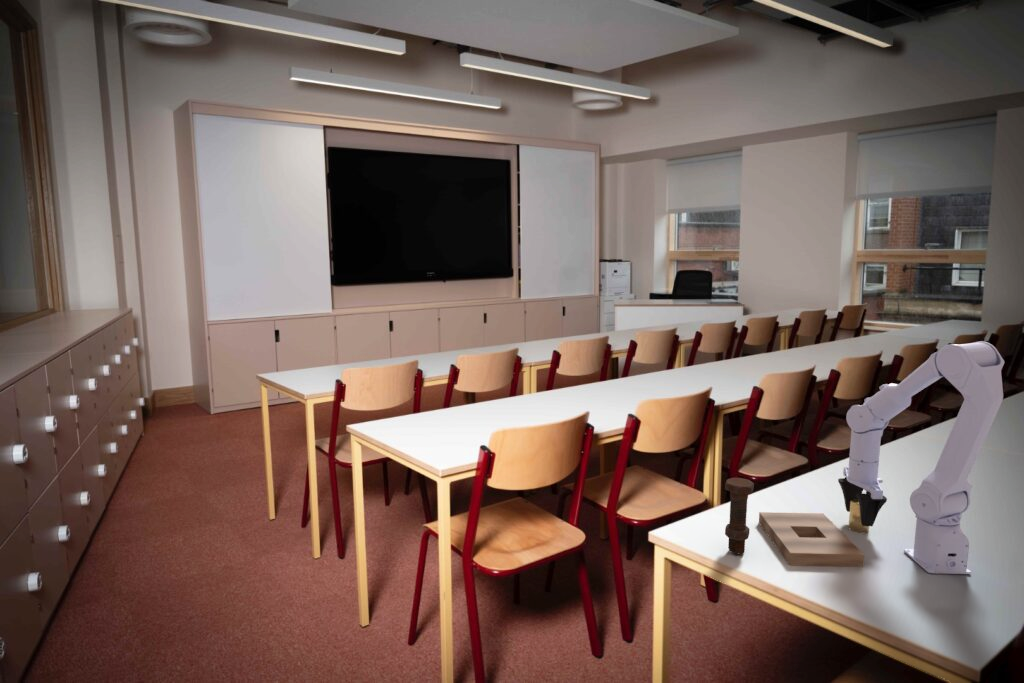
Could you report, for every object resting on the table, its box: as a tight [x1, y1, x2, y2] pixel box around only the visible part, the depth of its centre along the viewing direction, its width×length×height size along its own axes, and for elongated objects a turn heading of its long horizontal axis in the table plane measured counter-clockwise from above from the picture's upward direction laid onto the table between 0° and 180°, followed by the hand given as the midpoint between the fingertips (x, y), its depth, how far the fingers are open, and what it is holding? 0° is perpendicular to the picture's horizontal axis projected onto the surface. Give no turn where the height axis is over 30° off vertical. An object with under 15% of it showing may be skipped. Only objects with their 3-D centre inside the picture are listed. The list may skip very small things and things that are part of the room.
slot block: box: [758, 511, 865, 568], centre depth 143 cm, size 20×14×2 cm
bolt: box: [724, 477, 755, 556], centre depth 138 cm, size 6×5×15 cm
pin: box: [848, 499, 870, 533], centre depth 150 cm, size 4×4×6 cm
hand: (859, 518), depth 150 cm, fingers open, 7 cm apart
